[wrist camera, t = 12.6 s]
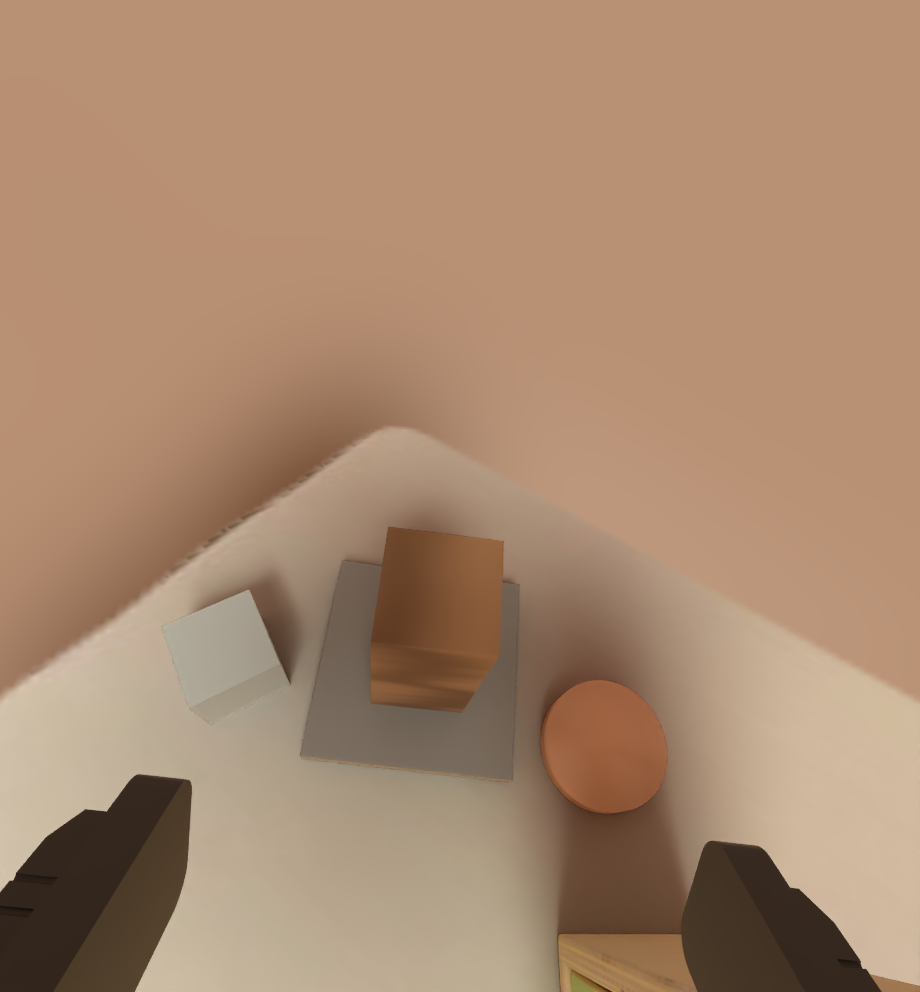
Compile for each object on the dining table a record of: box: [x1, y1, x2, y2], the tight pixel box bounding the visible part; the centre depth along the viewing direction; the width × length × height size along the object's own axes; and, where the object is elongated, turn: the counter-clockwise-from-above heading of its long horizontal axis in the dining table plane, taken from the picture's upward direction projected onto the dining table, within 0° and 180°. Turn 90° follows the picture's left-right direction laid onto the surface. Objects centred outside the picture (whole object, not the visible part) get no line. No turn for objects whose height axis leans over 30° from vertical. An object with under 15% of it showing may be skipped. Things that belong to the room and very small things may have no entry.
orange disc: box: [540, 680, 667, 814], centre depth 29 cm, size 6×6×2 cm
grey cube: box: [161, 589, 290, 725], centre depth 28 cm, size 4×4×4 cm
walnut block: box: [371, 527, 504, 713], centre depth 25 cm, size 4×4×10 cm
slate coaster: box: [300, 560, 520, 782], centre depth 30 cm, size 10×10×1 cm
